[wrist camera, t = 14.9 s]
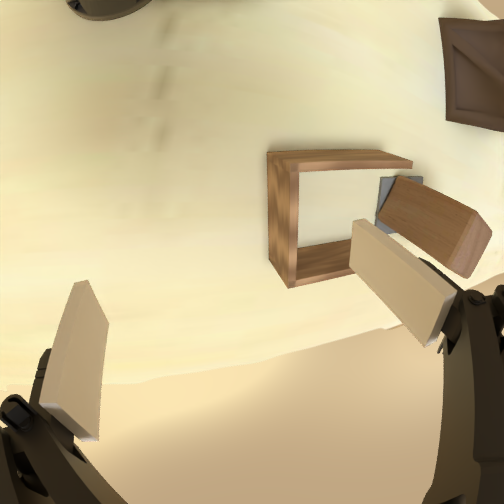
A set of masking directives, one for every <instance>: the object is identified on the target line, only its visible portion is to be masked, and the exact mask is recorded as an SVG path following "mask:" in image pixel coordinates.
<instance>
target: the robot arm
mask: <svg viewBox="0 0 504 504" xmlns="http://www.w3.org/2000/svg"><path fill="white" fill-rule="evenodd" d="M150 1H151V0H66V2H67V4H68V6H69V7H70V8H71V9H72V10H73V11H74V12H75V13H76V14H77V15H79V16H80V17H82V18H85V19H89V20H95V21H104V20H111V19H116V18H120V17H123V16H126V15H128V14H130V13H133V12H135V11H137V10H138V9H140V8H142V7H143V6H145V5H146V4H147V3H149V2H150ZM349 267H350V268H351V269H352V270H353V271H354V272H355V273H356V274H357V275H358V276H359V277H360V278H361V279H362V280H363V281H364V282H365V283H366V284H367V285H368V286H369V287H370V288H371V289H372V291H373V292H374V293H375V294H376V295H377V296H378V297H379V298H380V299H381V300H382V301H383V302H384V303H385V304H386V305H387V307H388V308H389V309H390V310H391V311H392V312H393V313H394V314H395V315H396V316H397V317H398V319H399V320H400V321H401V322H402V323H403V324H404V325H405V326H406V327H407V329H408V330H409V331H410V332H411V333H412V334H413V335H414V336H415V338H416V339H417V340H418V341H419V342H420V343H421V344H422V346H423V347H424V348H425V347H427V346H428V345H430V344H432V343H434V342H435V341H436V340H437V338H438V336H439V334H440V332H441V331H442V332H443V333H444V334H445V336H444V338H443V340H442V342H441V344H440V346H439V348H438V352H437V353H440V351H441V349H442V348H443V355H444V389H443V409H442V422H441V433H440V442H439V449H438V456H437V463H436V469H435V474H434V479H433V483H432V485H431V487H430V489H429V490H428V492H427V493H426V495H425V498H424V500H423V502H422V504H504V336H503V335H502V333H501V332H502V330H503V328H504V285H498V286H497V287H496V289H495V292H494V294H493V295H489V296H484V295H483V294H482V293H480V292H479V291H476V290H466V291H464V290H463V289H461V288H460V287H459V286H458V285H457V284H456V283H454V282H453V281H452V280H451V279H450V278H448V277H447V276H446V275H445V274H443V273H442V272H441V271H440V270H439V269H437V268H436V267H435V266H434V265H433V264H431V263H430V262H428V261H426V260H424V259H422V258H420V257H419V258H417V257H416V256H415V255H413V254H412V253H411V252H409V251H408V250H407V249H406V248H404V247H403V246H402V245H400V244H399V243H398V242H396V241H395V240H394V239H392V238H391V237H390V236H388V235H387V234H386V233H384V232H383V231H382V230H380V229H379V228H377V227H376V226H375V225H373V224H372V223H370V222H369V221H368V220H366V219H360V220H355V221H353V226H352V239H351V251H350V261H349ZM108 328H109V322H108V320H107V318H106V316H105V314H104V312H103V311H102V309H101V307H100V305H99V302H98V300H97V298H96V296H95V294H94V292H93V290H92V288H91V286H90V283H89V281H88V280H85V281H81V282H76V283H74V285H73V288H72V290H71V293H70V296H69V298H68V301H67V304H66V307H65V309H64V312H63V315H62V318H61V321H60V324H59V327H58V330H57V333H56V337H55V340H54V343H53V347H52V348H50V349H46V350H45V352H44V353H43V355H42V357H41V358H40V361H39V364H38V368H37V369H38V371H36V375H35V378H36V379H34V383H33V387H32V391H31V396H30V400H29V404H28V403H27V402H26V401H25V400H24V399H23V398H22V397H21V396H20V395H18V394H14V395H10V396H8V397H7V398H6V399H5V400H4V401H3V402H2V404H1V407H0V420H1V421H2V422H3V423H5V424H6V425H7V426H8V427H5V428H2V427H1V426H0V504H128V503H127V502H126V501H125V500H124V499H123V498H122V497H121V496H120V495H119V494H118V493H117V492H116V491H115V490H114V489H113V488H112V487H111V486H110V485H109V484H108V483H107V482H106V480H105V479H104V478H103V477H102V476H101V475H100V474H99V472H98V471H97V470H96V469H95V468H94V466H93V465H92V464H91V463H90V462H89V460H88V459H87V458H86V457H85V456H84V454H83V453H82V452H81V450H80V449H79V447H78V446H77V445H76V444H75V443H74V435H75V436H76V437H77V438H78V439H80V440H81V441H99V416H100V399H101V386H102V375H103V365H104V356H105V349H106V341H107V334H108ZM17 471H18V472H17ZM18 475H19V476H18Z"/></svg>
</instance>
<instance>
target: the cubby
mask: <svg viewBox="0 0 504 504" xmlns="http://www.w3.org/2000/svg"><path fill="white" fill-rule="evenodd" d="M412 164H413V161H410V160H408V159H405V158H402V157H399V156H396V155H393V154H389V153H386V152H383V151H380V150H300V151H280V152H267V180H268V231H269V260H270V262H271V263H272V265H273V266H274V268H275V270H276V271H277V273H278V274H279V276H280V277H281V279H282V280H283V282H284V283H285V285H286V286H287V288H293V287H298V286H302V285H307V284H311V283H316V282H320V281H325V280H329V279H333V278H338V277H342V276H346V275H350V274H354V273H355V272H354V271H353V270H352V269H351V268H350V267H349V261H350V251H351V239H349V240H343V241H337V242H332V243H326V244H320V245H314V246H309V247H303V248H297V240H298V206H299V172H310V171H327V170H349V169H412Z"/></svg>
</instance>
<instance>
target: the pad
mask: <svg viewBox="0 0 504 504" xmlns="http://www.w3.org/2000/svg"><path fill="white" fill-rule="evenodd" d="M396 178H397V177H380V186H379V196H378V204H377V212H376V220H375V226H376V227H377V228H379V229H380V230H382V231H383V232H384V233H386V234H391V233H397V232H396V231H394V230H393V229H391V228H390V227H388V226H387V225H385V224H384V223H382V222H381V221H380V220H379V218H378V214H379V212H380V210H381V209H382V207H383V205H384V203H385V201H386V199H387V197H388V195H389V193H390V191H391V189H392V186H393V184H394V182H395V180H396ZM406 178H409V179H411V180H413V181H416V182H418V183H420V184H422V183H423V177H422V176H408V177H406Z"/></svg>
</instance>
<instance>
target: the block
mask: <svg viewBox="0 0 504 504" xmlns="http://www.w3.org/2000/svg"><path fill="white" fill-rule="evenodd" d="M378 218H379V220H380V221H381V222H382V223H384V224H385V225H387V226H388V227H390V228H391V229H393V230H394V231H396V232H397V233H399V234H400V235H402V236H403V237H405V238H406V239H408V240H409V241H410V242H412V243H413V244H415V245H416V246H418V247H419V248H420V249H422V250H423V251H425V252H426V253H427V254H429V255H430V256H432V257H433V258H434V259H436V260H437V261H438V262H440V263H441V264H442V265H444V266H445V267H446V268H448V269H450V270H451V271H453V272H455V273H456V274H458V275H460V276H461V277H463V278H466V279H468V278H469V277H470V276H471V274H472V273H473V271H474V269H475V267H476V265H477V264H478V262H479V260H480V258H481V256H482V254H483V252H484V250H485V248H486V246H487V244H488V242H489V240H490V238H491V236H492V230H491V229H490V228H489V226H488V225H487V224H486V222H485V221H484V220H483V219H482V217H481V216H480V215H479V214H478V212H477V211H475V210H474V209H472V208H470V207H468V206H466V205H464V204H462V203H460V202H458V201H456V200H454V199H452V198H450V197H448V196H446V195H444V194H442V193H440V192H438V191H436V190H433V189H431V188H429V187H427V186H425V185H422V184H420V183H418V182H416V181H413V180H411V179H409V178H406V177H404V176H398V177H397V178H396V180H395V182H394V184H393V186H392V189H391V191H390V193H389V195H388V197H387V199H386V201H385V203H384V205H383V207H382V209H381V210H380V212H379V214H378Z"/></svg>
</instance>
